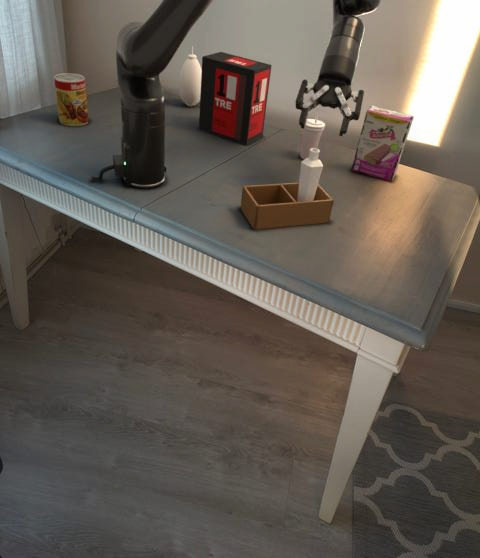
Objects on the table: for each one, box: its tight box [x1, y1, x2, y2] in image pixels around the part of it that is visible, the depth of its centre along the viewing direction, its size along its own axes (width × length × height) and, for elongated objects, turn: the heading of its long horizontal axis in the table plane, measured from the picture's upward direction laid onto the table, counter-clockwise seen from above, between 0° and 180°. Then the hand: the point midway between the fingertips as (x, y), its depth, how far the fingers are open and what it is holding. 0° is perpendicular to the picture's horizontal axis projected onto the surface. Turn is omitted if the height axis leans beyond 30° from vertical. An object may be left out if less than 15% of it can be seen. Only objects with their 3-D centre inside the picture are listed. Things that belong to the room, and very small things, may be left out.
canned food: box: [53, 72, 89, 127], centre depth 139 cm, size 8×8×12 cm
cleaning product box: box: [198, 51, 272, 146], centre depth 141 cm, size 16×9×20 cm, turn 58°
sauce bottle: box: [178, 45, 202, 107], centre depth 158 cm, size 8×8×18 cm
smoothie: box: [299, 105, 326, 160], centre depth 134 cm, size 6×6×14 cm
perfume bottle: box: [297, 148, 324, 202], centre depth 108 cm, size 5×4×15 cm
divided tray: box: [239, 182, 335, 230], centre depth 109 cm, size 18×9×6 cm, turn 109°
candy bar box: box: [351, 105, 414, 182], centre depth 129 cm, size 11×5×16 cm, turn 65°
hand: (321, 130), depth 109 cm, fingers open, 8 cm apart
